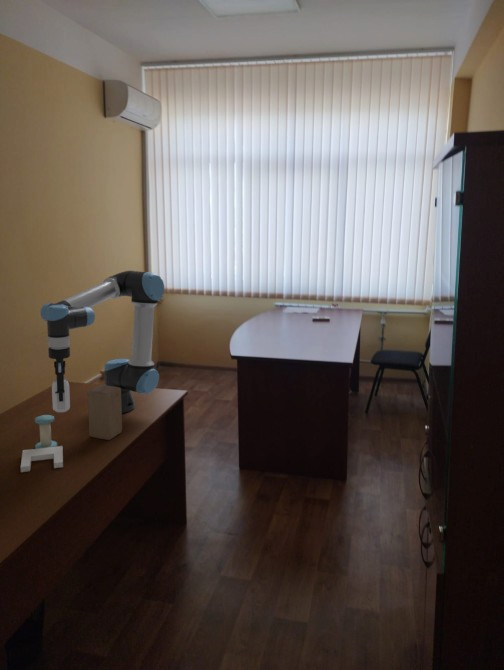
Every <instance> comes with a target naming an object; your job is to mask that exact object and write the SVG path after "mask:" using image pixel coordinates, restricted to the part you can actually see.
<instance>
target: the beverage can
mask: <svg viewBox="0 0 504 670" xmlns="http://www.w3.org/2000/svg"><path fill="white" fill-rule="evenodd" d="M64 390H65V409H58V406H57V393H55V392H57V378H56V379H54V380H53V381H52V384H51V398H52V399H51V400H52V410H53V411H55V412H56V413H66V412H68V411H69V410H70V409H71V401H70V400H71V399H70V397H71V396H70V383H69V382H68V378H64Z"/></svg>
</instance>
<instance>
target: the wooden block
mask: <svg viewBox="0 0 504 670" xmlns="http://www.w3.org/2000/svg"><path fill="white" fill-rule="evenodd" d="M87 410H88V432H89V437H90V438H95V439H99V440H100V439H101V440H105V441H110V440H112V439H114V438H115V437H117V436H118V435H120V434H121V433H122V432H123V419H122V418H123V416H122V414H123V413H122V408H121V388H120V387H113V386H107V385H105V384H100V385H98V386H96V387H94V388H92V389H90V390H88V392H87Z"/></svg>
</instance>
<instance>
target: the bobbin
mask: <svg viewBox="0 0 504 670" xmlns="http://www.w3.org/2000/svg"><path fill="white" fill-rule="evenodd" d="M53 422H55V416H54V415H51V414H43V415H39V416H36V417H35V418H34V423H36V424H37V425H38V426H39V439H40V442H37V443H36V444H35V447H34V449H39V448H48V447H57V446H58V442H57V441H55V440H52V428H51V425H52V423H53Z"/></svg>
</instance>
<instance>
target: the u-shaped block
mask: <svg viewBox="0 0 504 670" xmlns="http://www.w3.org/2000/svg"><path fill="white" fill-rule="evenodd" d="M63 448H64V447H63V445H60V446H59V445H57V447H48V448H39V449H35V448H32V449H23V450H22V454H21V461H20V462H21V463H20V473H25V472H26V473H27V472H30V471H31V467H32V466H31V465H32V462H37V461H45V460H53V468H54V469H57V468H59V469H60V468H64V454H63V453H64V451H63Z"/></svg>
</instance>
